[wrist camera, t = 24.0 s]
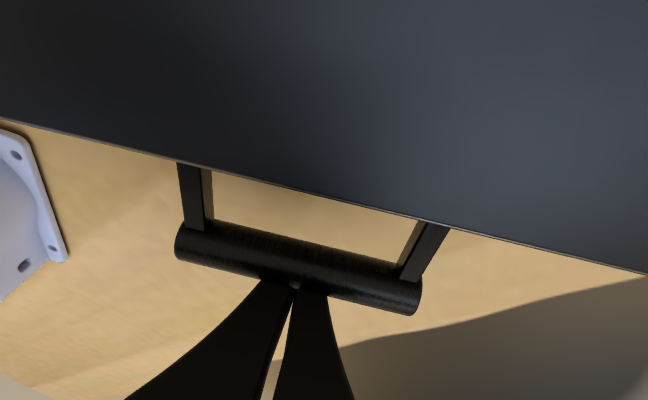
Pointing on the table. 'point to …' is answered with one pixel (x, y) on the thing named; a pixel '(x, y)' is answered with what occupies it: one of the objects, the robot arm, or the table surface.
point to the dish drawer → (302, 250)
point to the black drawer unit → (367, 103)
